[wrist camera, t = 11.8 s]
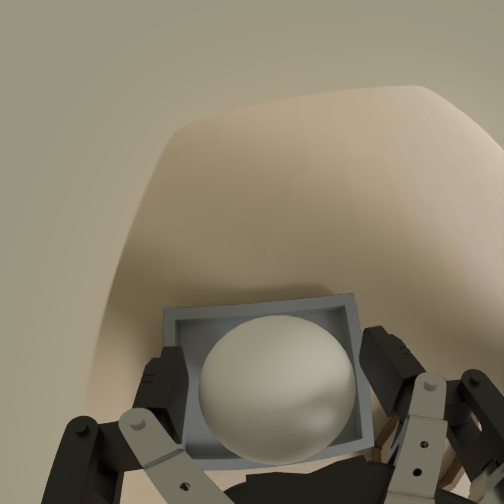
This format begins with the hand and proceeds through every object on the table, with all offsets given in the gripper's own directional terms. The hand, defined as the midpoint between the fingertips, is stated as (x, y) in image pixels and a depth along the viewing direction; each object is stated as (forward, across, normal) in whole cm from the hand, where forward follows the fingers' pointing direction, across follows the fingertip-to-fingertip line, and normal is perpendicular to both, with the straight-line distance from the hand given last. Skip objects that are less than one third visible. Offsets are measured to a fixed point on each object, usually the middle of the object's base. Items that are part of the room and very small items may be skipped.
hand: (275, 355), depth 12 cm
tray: (+5, 0, +7) cm, 8 cm away
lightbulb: (+4, 0, +6) cm, 8 cm away
